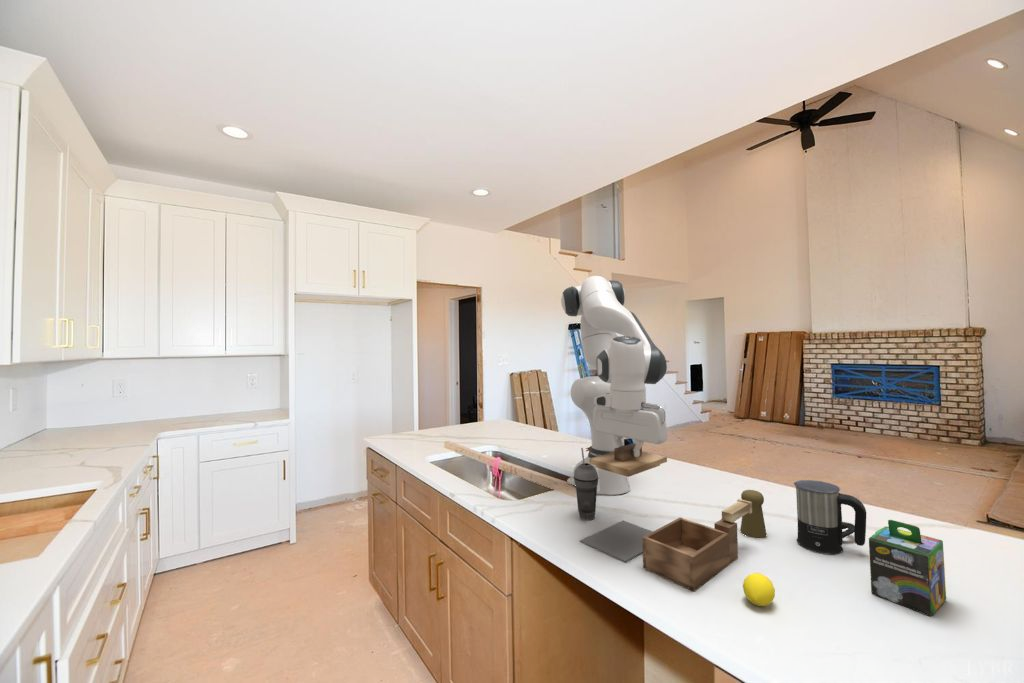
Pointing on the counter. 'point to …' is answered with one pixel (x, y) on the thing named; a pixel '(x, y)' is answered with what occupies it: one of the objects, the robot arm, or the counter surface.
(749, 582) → the lemon
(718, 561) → the brown wooden box
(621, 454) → the lid
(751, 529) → the olive chess pawn
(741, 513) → the light wooden bar
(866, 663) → the counter surface
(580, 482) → the beverage cup
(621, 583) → the counter surface
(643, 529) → the mat
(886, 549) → the chalk box
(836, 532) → the milk frother
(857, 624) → the counter surface
